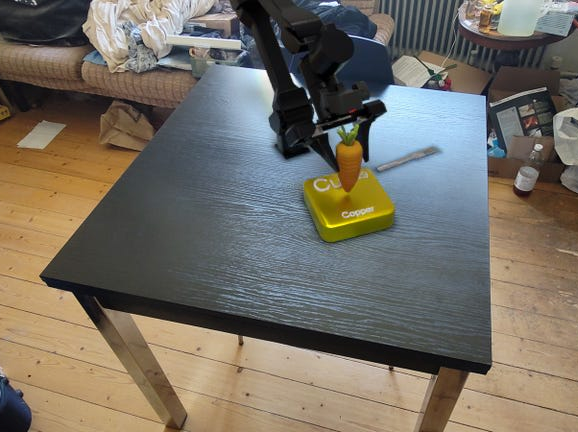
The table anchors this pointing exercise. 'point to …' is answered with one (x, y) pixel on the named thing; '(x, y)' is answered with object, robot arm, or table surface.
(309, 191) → the element tile
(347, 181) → the carrot
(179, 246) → the table surface
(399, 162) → the thin grey rod
